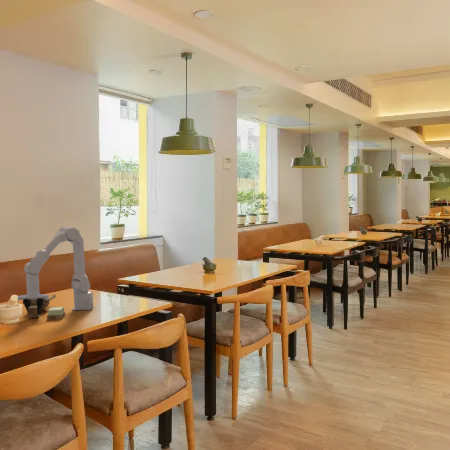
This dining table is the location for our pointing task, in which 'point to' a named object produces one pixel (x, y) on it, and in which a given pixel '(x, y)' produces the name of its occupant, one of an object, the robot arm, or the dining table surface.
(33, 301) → the pine cone
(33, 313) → the walnut block
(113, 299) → the dining table surface
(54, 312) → the slab top
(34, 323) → the dining table surface
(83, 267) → the robot arm
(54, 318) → the slab bottom
